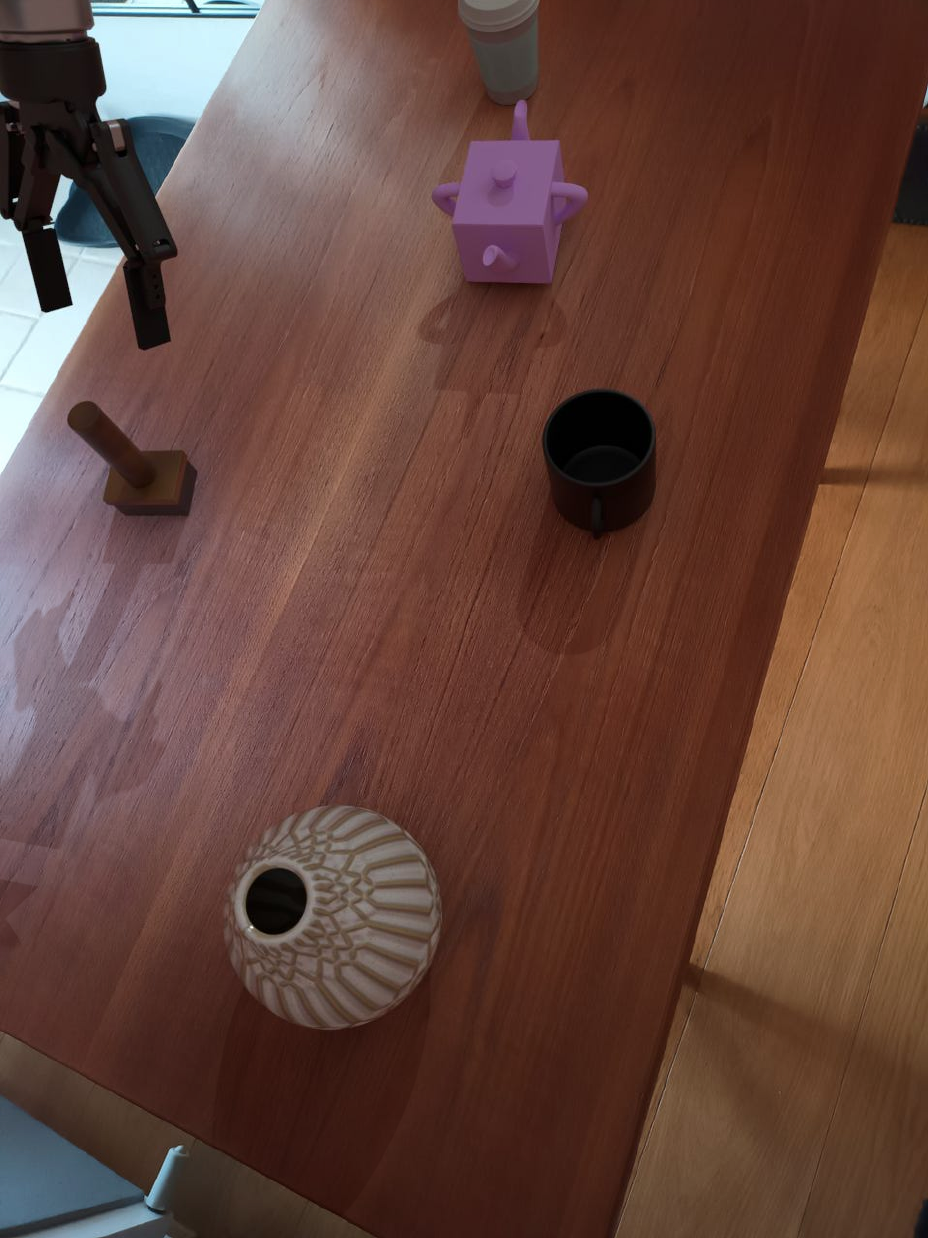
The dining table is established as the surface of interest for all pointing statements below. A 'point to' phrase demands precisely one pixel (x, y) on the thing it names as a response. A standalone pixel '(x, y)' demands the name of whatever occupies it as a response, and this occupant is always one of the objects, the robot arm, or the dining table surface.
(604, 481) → the mug
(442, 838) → the dining table surface
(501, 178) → the teapot
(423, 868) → the vase
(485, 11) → the coffee cup
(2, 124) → the robot arm
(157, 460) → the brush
